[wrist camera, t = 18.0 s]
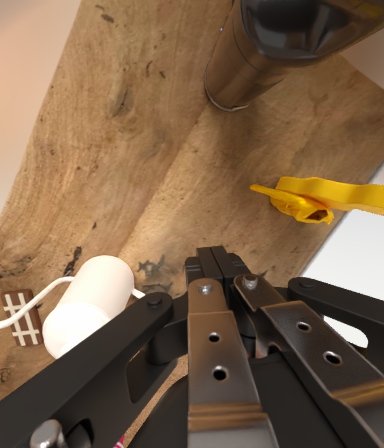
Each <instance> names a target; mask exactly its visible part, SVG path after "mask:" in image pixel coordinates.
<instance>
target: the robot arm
mask: <svg viewBox="0 0 384 448" xmlns="http://www.w3.org/2000/svg"><path fill="white" fill-rule="evenodd" d="M383 28H384V0H233V7H232V10H231V12H230V14H229V15H228V16H227V17H226V20H225V22H224V25H223V27H222V29H221V32H220V35H219V37H218V40H217V42H216V45H215V47H214V50H213V55H212V58H211V60H210V62H209V63H208V66H207V68H206V72H205V78H204V83H205V89H206V93H207V95H208V97H209V99H210V100H211V102H212V103H213V104H214V105H215V106H216V107H218V108H220V109H222V110H224V111H230V112H233V111H238V110H241V109H243V108H245V107H248V106H247V105H249V104H250V103H251V102H252V101H253V100H255V99H256V98H258V97H259V96H260V95H262V94H263V93H265V92H266V91H267V90H269V89H270V88H272V87H273V86H274V85H276V84H277V83H279V82H280V81H281V80H283V79H284V78H285V77H287V76H288V75H290V74H291V73H292V72H294V71H295V70H297V69H299V68H308V67H312V66H315V65H318V64H320V63H322V62H324V61H325V60H327V59H329V58H331V57H332V56H334V55H336V54H338V53H340V52H342V51H343V50H345V49H347V48H349V47H351V46H353V45H354V44H356V43H358V42H360V41H362V40H363V39H365V38H367V37H369V36H370V35H372V34H374V33H376V32H377V31H379V30H381V29H383ZM185 272H186V285H187V292H186V293H185V294H184V295H182V296H180V297H178V298H176V299H172V297H171V296H170V295H169V294H167V293H163V292H154V293H150V294H147V295H145V296H143V297H141V298H140V299H139V300H137V301H136V302H135V303H133V304H132V305H130V306H129V307H128V308H126V309H125V310H124V311H122V312H121V313H120V314H118V315H117V316H115V317H114V318H113V319H111V320H110V321H109V322H107V323H106V324H105V325H103V326H102V327H100V328H99V329H98V330H96V331H95V332H94V333H92V334H91V335H90V336H88V337H87V338H85V339H84V340H83V341H81V342H80V343H79V344H77V345H76V346H75V347H73V348H72V349H70V350H69V351H68V352H66V353H65V354H64V355H62V356H61V357H60V358H58V359H57V360H56V361H54V362H53V363H51V364H50V365H49V366H47V367H46V368H45V369H43V370H42V371H41V372H39V373H38V374H36V375H35V376H34V377H32V378H31V379H30V380H28V381H27V382H26V383H24V384H23V385H21V386H20V387H19V388H17V389H16V390H15V391H13V392H12V393H11V394H9V395H8V396H6V397H5V398H4V399H2V400H1V401H0V448H114V447H115V445H116V444H117V443H118V441H119V440H120V439H121V438H122V436H123V435H124V434H125V432H126V431H127V430H128V428H129V427H130V426H131V425H132V423H133V422H134V421H135V419H136V418H137V417H138V415H139V414H140V413H141V411H142V410H143V409H144V408H145V406H146V405H147V404H148V402H149V401H150V400H151V398H152V397H153V396H154V395H155V393H156V392H157V391H158V389H159V388H160V387H161V385H162V384H163V383H164V382H165V380H166V379H167V378H168V376H169V375H170V374H171V372H172V371H173V370H174V368H175V367H176V366H177V363H178V358H179V357H181V356H183V355H186V354H188V374H187V375H186V376H184V377H182V378H181V379H179V380H178V381H176V382H175V383H174V384H173V385H172V386H171V387H170V388H169V389H168V390H167V391H166V392H165V393H164V394H163V396H162V397H161V398H160V400H159V401H158V403H157V404H156V406H155V407H154V409H153V410H152V411H151V413H150V414H149V416H148V417H147V419H146V420H145V422H144V423H143V425H142V426H141V428H140V429H139V430H138V432H137V433H136V435H135V436H134V438H133V439H132V441H131V442H130V444H129V445H128V447H127V448H384V301H383V300H379V299H376V298H373V297H370V296H367V295H363V294H360V293H357V292H353V291H350V290H347V289H344V288H341V287H337V286H334V285H331V284H328V283H324V282H321V281H318V280H315V279H311V278H306V277H296V278H292V279H290V280H289V282H288V288H282V287H272V286H271V285H270V284H269V283H268V282H267V281H266V280H265V279H264V278H263V277H261V276H259V275H255V274H252V273H251V272H250V270H249V269H248V268H247V266H246V265H245V264H244V262H243V261H242V259H241V258H240V257H239V256H238V255H236V254H234V253H227V252H226V250H225V249H224V247H223V246H212V247H202V248H196V257H188V258H187V259H186V261H185ZM324 315H325V316H327V317H330V318H332V319H335V320H337V321H340V322H342V323H345V324H347V325H350V326H352V327H355V328H357V329H359V330H361V331H362V332H363V333H364V334H365V335H366V337H367V339H368V346H367V348H363V347H359V346H357V345H355V344H353V343H350V342H348V341H346V340H345V339H344V338H343V337H342V336H340V334H338V333H337V332H336V331H335V330H334V329H333V328H332V327H331V326H330V325H328V324H327V323H326V322H325V321H324ZM142 347H143V349H142V350H141V351H140V352H139V353H138V354H137V355H136V356H135V357H134V358H133V359H132V360H131V358H132V357H133V356H134V355H135V354H136V353H137V352H138V351H139V350H140V349H141V348H142ZM130 360H131V361H130ZM129 361H130V362H129Z"/></svg>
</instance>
